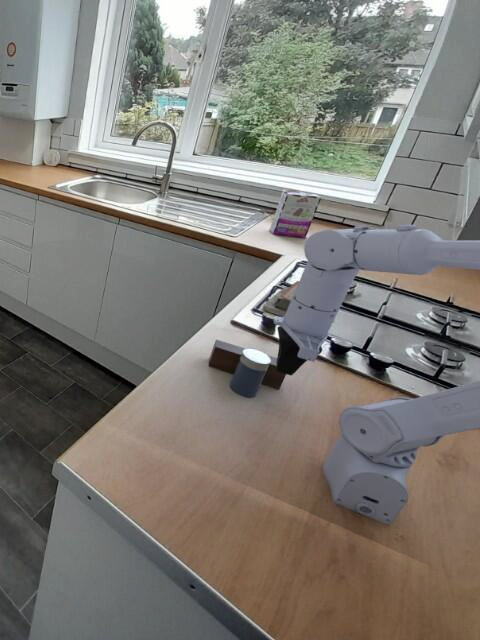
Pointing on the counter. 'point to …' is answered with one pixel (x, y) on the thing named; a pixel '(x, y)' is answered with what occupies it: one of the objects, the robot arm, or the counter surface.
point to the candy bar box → (295, 214)
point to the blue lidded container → (249, 373)
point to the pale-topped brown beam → (227, 361)
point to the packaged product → (281, 300)
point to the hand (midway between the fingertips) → (283, 371)
